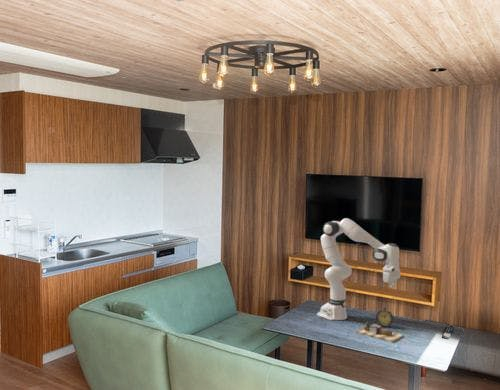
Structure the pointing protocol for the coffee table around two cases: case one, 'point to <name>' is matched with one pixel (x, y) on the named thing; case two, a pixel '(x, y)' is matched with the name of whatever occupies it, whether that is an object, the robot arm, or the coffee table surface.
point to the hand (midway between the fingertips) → (391, 287)
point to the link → (378, 330)
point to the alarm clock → (384, 317)
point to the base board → (381, 335)
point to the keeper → (374, 328)
